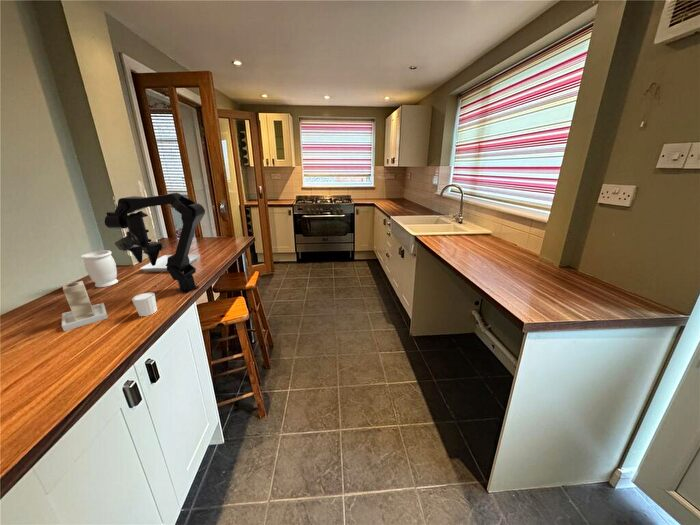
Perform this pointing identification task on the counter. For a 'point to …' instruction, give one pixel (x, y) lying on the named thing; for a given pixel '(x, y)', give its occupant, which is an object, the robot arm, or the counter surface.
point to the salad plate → (164, 263)
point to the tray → (71, 323)
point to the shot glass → (145, 303)
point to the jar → (101, 267)
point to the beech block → (78, 300)
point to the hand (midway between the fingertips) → (147, 264)
